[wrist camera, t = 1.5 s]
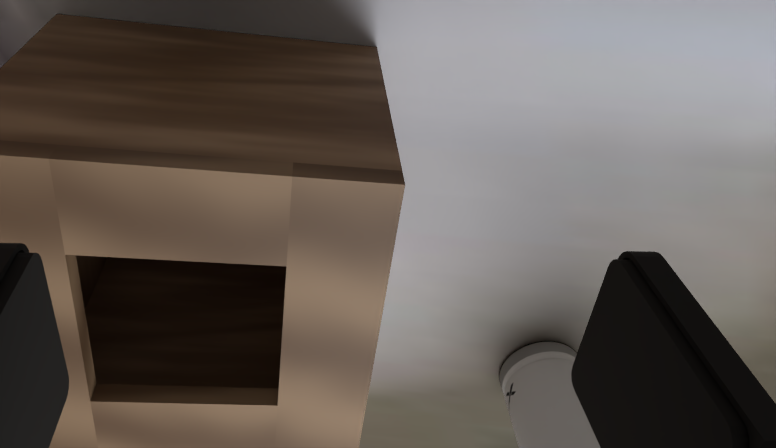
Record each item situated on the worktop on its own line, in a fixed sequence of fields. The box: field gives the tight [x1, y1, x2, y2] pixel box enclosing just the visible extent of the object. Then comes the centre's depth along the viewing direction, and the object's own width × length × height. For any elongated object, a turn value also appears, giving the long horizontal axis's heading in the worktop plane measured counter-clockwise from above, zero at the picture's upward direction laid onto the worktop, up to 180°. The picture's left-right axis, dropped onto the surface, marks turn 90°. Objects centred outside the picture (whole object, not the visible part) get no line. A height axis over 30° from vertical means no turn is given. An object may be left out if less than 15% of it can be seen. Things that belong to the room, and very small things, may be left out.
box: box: [0, 14, 405, 448], centre depth 33 cm, size 16×16×14 cm
